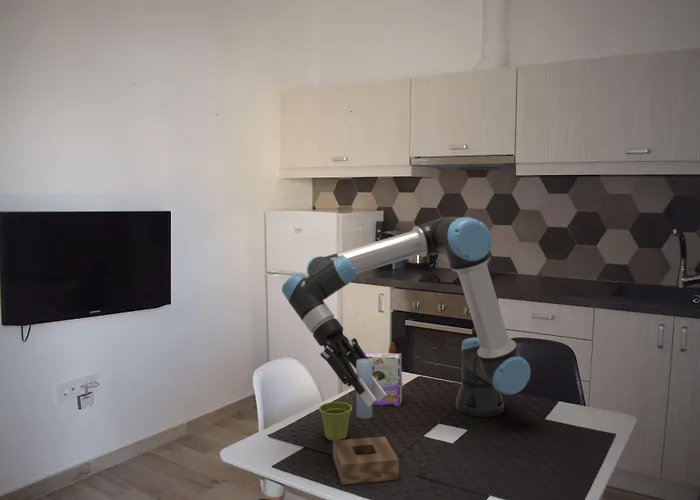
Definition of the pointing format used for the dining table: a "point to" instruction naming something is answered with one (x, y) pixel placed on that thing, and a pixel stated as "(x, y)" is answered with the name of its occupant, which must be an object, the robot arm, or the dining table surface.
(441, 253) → the robot arm
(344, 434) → the plant pot
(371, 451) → the bore block
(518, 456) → the dining table surface
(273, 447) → the dining table surface
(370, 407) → the dowel
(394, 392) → the candy box
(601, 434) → the dining table surface
